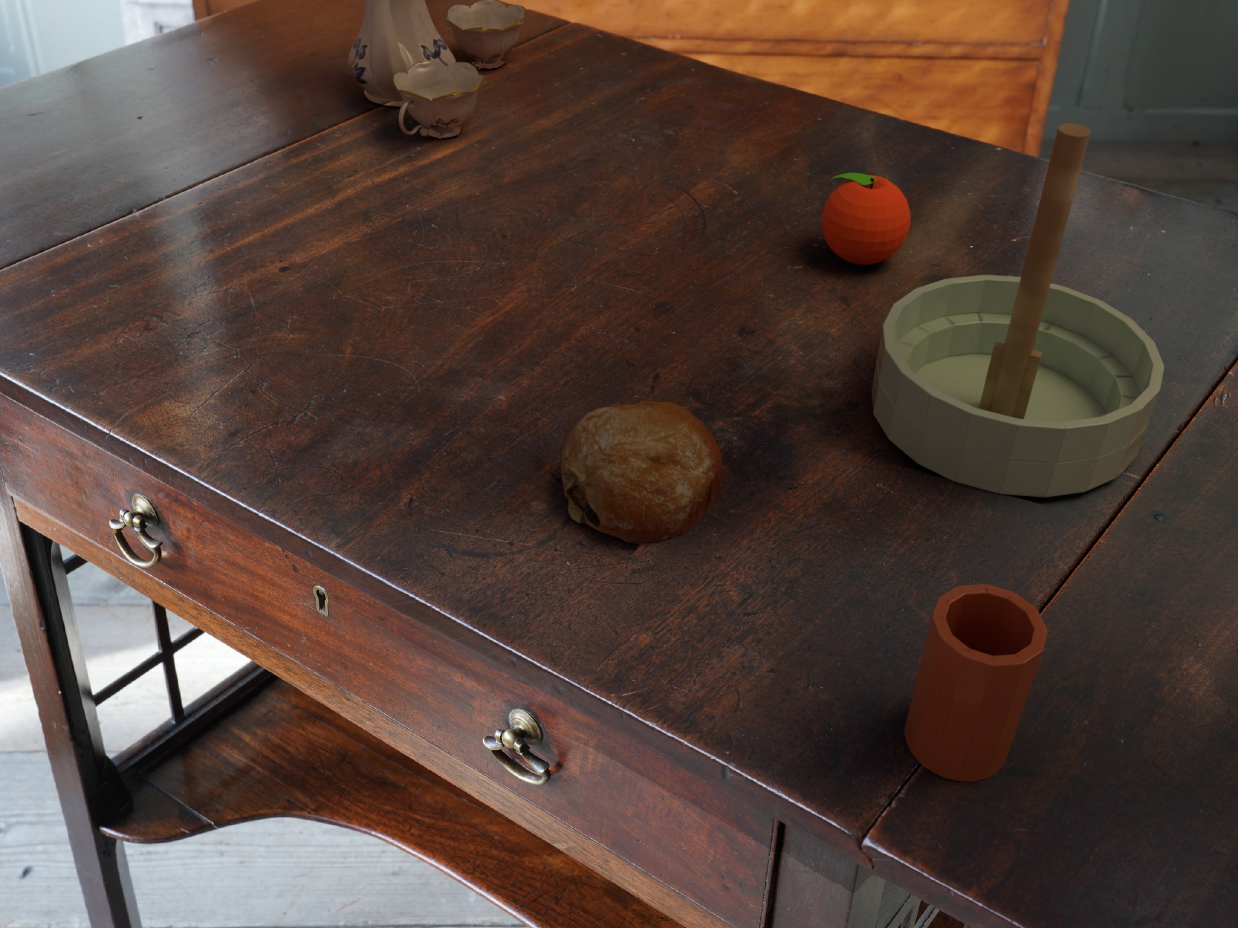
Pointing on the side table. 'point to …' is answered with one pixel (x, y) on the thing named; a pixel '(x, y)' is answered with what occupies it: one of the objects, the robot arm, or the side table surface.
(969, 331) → the bowl
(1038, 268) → the stick
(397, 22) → the chinaware
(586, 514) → the bread roll
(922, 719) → the holder
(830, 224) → the clementine
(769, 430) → the side table surface
